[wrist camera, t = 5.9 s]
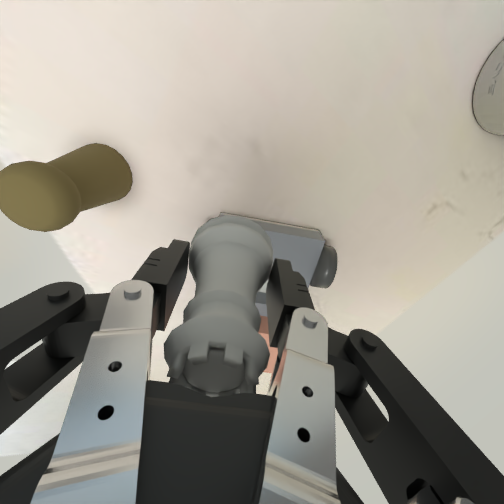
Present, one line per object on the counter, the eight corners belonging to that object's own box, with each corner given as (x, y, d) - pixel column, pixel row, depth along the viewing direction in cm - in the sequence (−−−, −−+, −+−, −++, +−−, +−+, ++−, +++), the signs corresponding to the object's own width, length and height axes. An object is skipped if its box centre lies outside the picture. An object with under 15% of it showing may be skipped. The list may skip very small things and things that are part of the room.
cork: (142, 191, 28) (85, 230, 18) (96, 207, 29) (17, 252, 19) (112, 134, 25) (25, 145, 16) (62, 154, 26) (-50, 175, 16)
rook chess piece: (226, 193, 12) (192, 294, 5) (289, 246, 14) (328, 381, 7) (176, 252, 14) (99, 390, 7) (237, 295, 15) (225, 444, 8)
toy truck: (331, 232, 30) (348, 256, 25) (289, 345, 40) (294, 380, 34) (207, 209, 29) (197, 230, 24) (193, 332, 38) (184, 367, 33)
